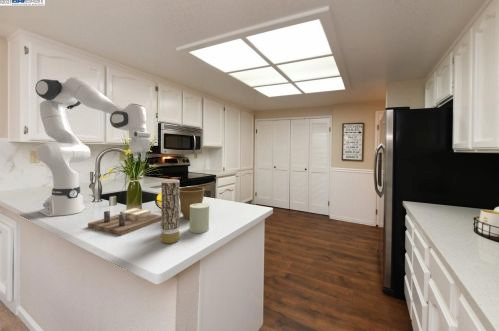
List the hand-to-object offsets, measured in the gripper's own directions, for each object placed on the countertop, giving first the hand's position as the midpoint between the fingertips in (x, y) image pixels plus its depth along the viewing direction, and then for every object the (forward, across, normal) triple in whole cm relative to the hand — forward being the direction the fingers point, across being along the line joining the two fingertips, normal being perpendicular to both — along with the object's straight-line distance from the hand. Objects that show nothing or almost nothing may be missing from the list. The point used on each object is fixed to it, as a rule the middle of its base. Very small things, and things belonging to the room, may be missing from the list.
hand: (139, 161), depth 117 cm
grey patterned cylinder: (+34, +37, -2) cm, 50 cm away
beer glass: (+33, +28, +3) cm, 44 cm away
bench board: (+31, +4, -8) cm, 32 cm away
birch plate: (+29, +2, -4) cm, 29 cm away
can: (+34, +34, +14) cm, 50 cm away
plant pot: (+32, +15, +20) cm, 41 cm away
